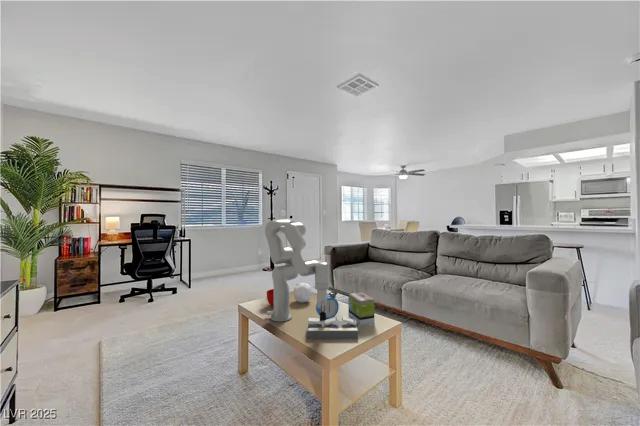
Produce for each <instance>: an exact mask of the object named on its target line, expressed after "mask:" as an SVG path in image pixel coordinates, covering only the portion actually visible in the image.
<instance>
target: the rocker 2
mask: <svg viewBox="0 0 640 426" xmlns="http://www.w3.org/2000/svg"><path fill="white" fill-rule="evenodd" d="M324 321H325V325H329V324H332V323H336V322H339V321H340V319H339V316H337V315H336V316H335V317H334V318H330V319H326V320H324Z"/></svg>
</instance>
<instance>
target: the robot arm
mask: <svg viewBox="0 0 640 426" xmlns="http://www.w3.org/2000/svg"><path fill="white" fill-rule="evenodd" d="M306 232H307V231H306V227H305V225H304V224H303V223H301V222H299V221H295V220H291V219H273V220H270V221H268V222H267V223H266V224H265V227H264V235H265V238H266V241H267V244H268V249H269V255H270V258H271V262H272V263H273V264H274V265H279V266H276V267H275V268H273V270H272V271H271V279H272V285H273V289H274V307H273V310H266V315H267V316H271V317H270V319H271V320H272V321H274V322H280V323H281V322H287V321H290V320H292V319H293V318H292V317H293V315H292V314H291V313H290V287H289V285H288V283H287V282H288V281H291V280H294V279H297V278H298V276H301V277H307V276H313V275H314V288H315V290H316V299H317V300H316V304H317V308H318V309H319V308H320V315H319V318H320V321H325V320H327V319H326V312H325V308H327V294H328V290H329V289H330V271H329V270H330V267H329V263H328V262H326V261H318V260H316V259H315V260H314V259H313V260H310V261H304V259H303V257H302V254H301V252H302V250H303V249H304V248H305V247H306V246H307V242H306V240H305V238H304V237H303V236H305V234H306ZM279 234H284V235H285V237H286V239H287V241H288V243H289V245H290V247H284V245H283V241H282V238H281V237H280V236H279ZM282 264H285V265H282Z"/></svg>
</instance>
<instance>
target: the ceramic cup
mask: <svg viewBox="0 0 640 426" xmlns="http://www.w3.org/2000/svg"><path fill="white" fill-rule="evenodd" d="M266 300H267V303H268V304H269V306H270V307H272V308H274V288H272V289H271V288H270V289H268V290H266Z"/></svg>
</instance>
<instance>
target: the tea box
mask: <svg viewBox="0 0 640 426" xmlns="http://www.w3.org/2000/svg"><path fill="white" fill-rule="evenodd" d="M347 301H348V318H350V319H354V320H356V325H358V326H359V327H363V326H369V324H371V325H375V298H373V297H371V296H369V295H368V294H365V293H364V292H356V293H355V292H353V293H348V297H347Z"/></svg>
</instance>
